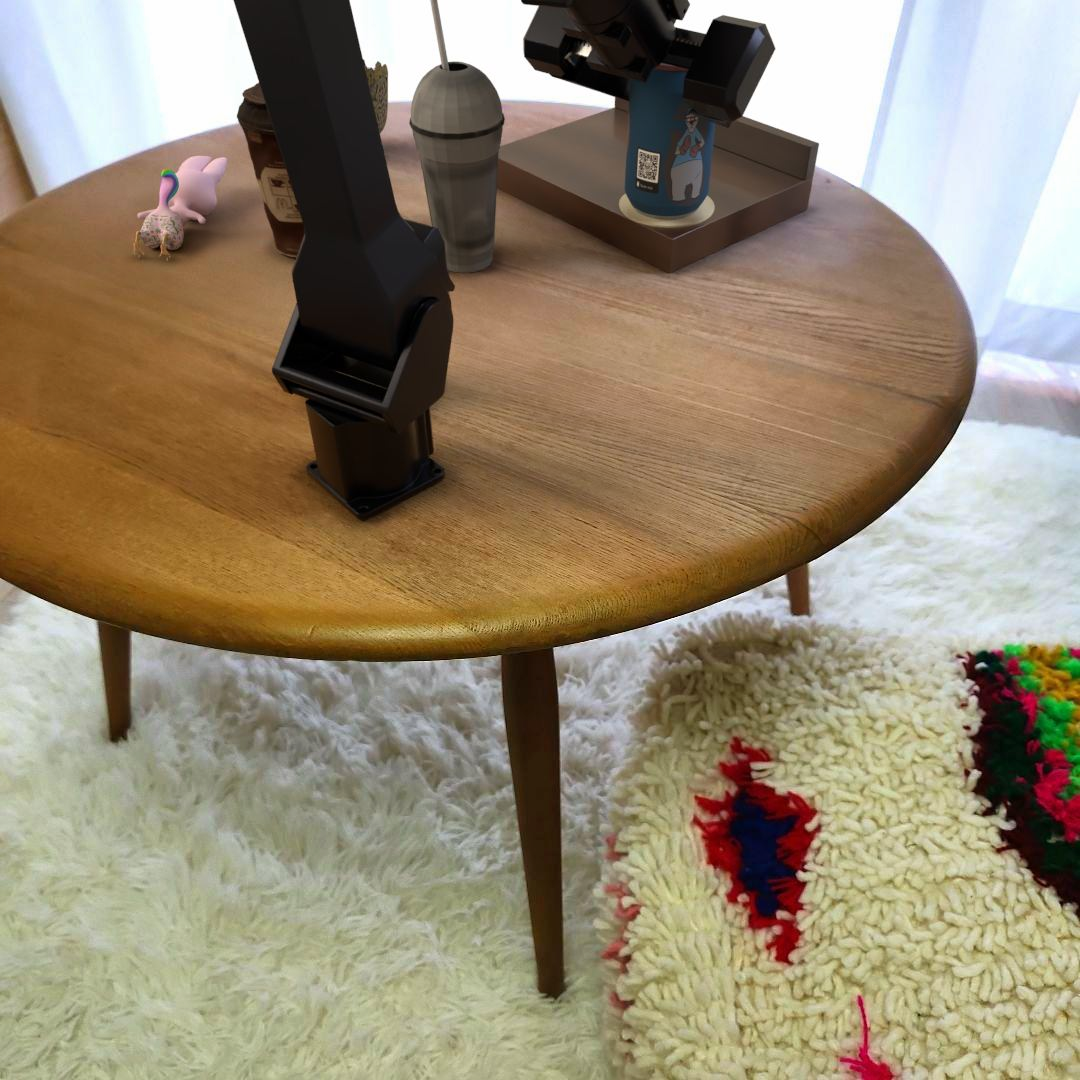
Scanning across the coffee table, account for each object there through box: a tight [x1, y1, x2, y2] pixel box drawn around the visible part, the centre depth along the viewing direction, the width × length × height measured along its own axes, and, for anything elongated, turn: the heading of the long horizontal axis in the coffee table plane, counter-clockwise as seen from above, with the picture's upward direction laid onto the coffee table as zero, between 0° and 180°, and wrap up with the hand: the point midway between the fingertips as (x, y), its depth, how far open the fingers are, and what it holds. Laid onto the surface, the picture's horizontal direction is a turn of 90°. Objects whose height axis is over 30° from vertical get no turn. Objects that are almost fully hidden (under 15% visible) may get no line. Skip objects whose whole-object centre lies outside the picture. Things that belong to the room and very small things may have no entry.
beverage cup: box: [408, 0, 506, 274], centre depth 79 cm, size 7×7×20 cm
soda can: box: [625, 63, 715, 219], centre depth 82 cm, size 7×7×12 cm
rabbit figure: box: [131, 155, 228, 262], centre depth 89 cm, size 6×6×15 cm
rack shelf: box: [497, 97, 820, 274], centre depth 93 cm, size 18×24×6 cm
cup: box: [363, 58, 389, 134], centre depth 100 cm, size 8×7×8 cm
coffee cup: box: [236, 82, 305, 258], centre depth 84 cm, size 9×8×13 cm
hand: (679, 108), depth 81 cm, fingers open, 9 cm apart
